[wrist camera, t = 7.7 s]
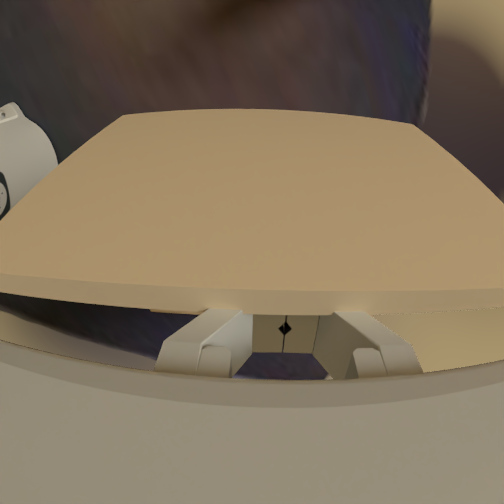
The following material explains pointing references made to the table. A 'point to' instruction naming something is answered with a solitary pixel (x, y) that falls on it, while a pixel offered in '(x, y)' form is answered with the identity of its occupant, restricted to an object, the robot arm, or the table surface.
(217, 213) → the carton lid
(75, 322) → the table surface
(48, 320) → the table surface
